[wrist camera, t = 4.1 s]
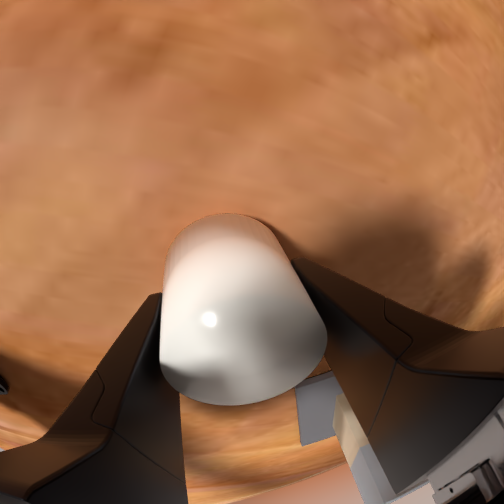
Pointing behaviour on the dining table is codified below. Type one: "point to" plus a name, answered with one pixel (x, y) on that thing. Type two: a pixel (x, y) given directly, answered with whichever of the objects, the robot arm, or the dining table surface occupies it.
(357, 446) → the bottom block
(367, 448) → the top block
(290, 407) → the dining table surface
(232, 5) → the dining table surface
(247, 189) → the dining table surface
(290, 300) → the white cylinder
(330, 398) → the mat
